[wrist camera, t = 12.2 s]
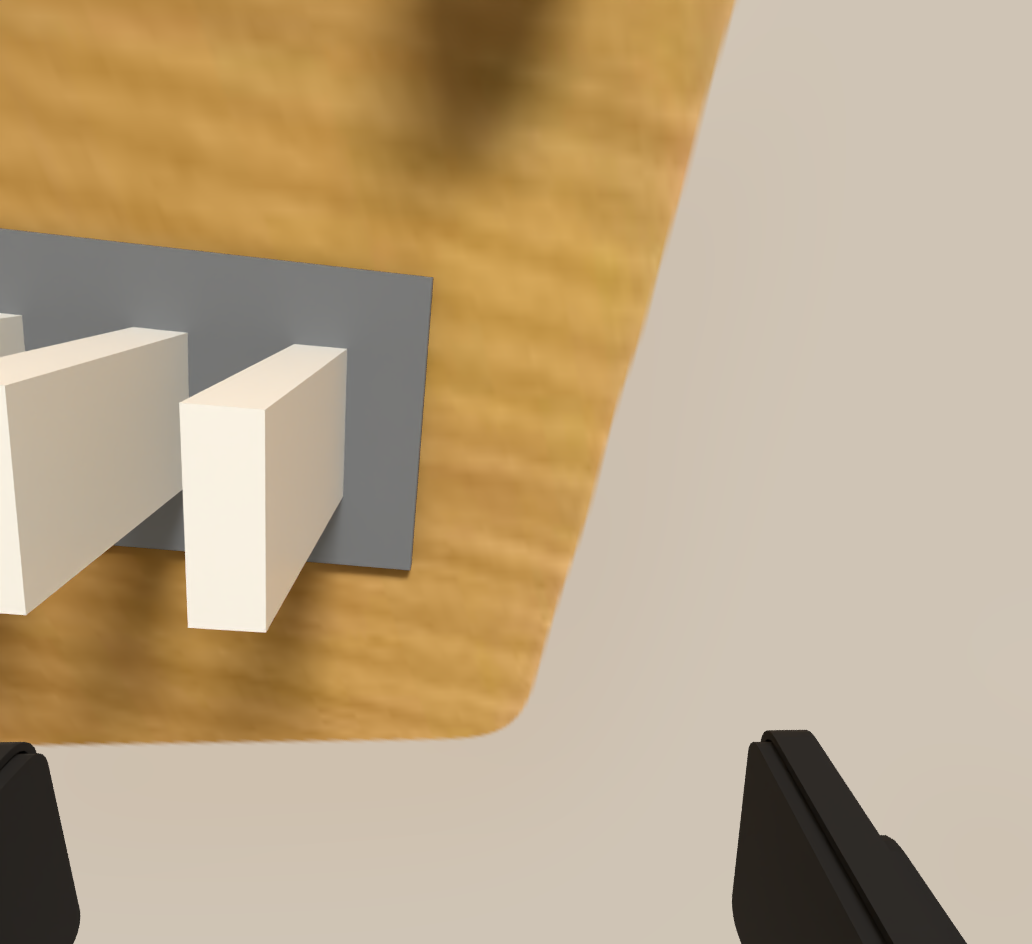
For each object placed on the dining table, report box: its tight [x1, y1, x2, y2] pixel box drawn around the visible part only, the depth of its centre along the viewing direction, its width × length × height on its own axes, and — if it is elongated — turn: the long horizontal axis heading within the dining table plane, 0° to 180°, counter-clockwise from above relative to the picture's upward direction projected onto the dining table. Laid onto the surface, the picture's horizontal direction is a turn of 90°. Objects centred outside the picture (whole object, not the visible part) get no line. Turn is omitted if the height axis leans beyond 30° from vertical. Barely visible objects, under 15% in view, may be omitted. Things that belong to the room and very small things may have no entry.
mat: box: [0, 228, 433, 570], centre depth 28 cm, size 32×12×1 cm, turn 84°
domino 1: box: [0, 327, 189, 615], centre depth 23 cm, size 2×6×11 cm, turn 173°
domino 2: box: [179, 344, 347, 633], centre depth 24 cm, size 2×6×11 cm, turn 175°
